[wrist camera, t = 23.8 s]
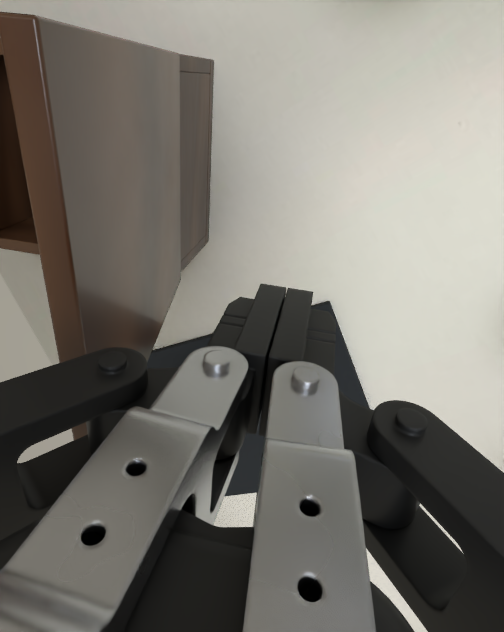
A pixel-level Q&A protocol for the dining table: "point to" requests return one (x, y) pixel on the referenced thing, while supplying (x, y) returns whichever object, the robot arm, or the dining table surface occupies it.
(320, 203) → the dining table surface
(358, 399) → the mat
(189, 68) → the chest
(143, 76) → the chest lid
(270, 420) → the robot arm
